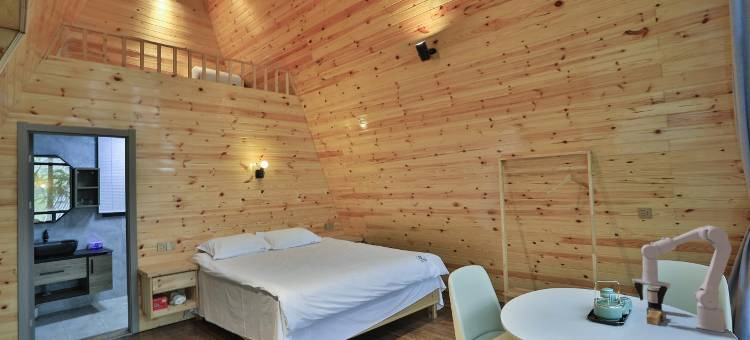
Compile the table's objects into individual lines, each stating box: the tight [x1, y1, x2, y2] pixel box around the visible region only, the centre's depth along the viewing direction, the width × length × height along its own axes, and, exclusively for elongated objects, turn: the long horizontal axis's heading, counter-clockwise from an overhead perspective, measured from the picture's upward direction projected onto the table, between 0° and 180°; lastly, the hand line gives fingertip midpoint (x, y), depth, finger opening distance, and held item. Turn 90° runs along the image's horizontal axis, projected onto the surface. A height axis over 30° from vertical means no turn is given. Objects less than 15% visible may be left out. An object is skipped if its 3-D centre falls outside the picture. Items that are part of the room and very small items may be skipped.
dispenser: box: [646, 307, 667, 323], centre depth 194 cm, size 6×6×5 cm
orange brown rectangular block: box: [646, 310, 662, 327], centre depth 191 cm, size 4×12×4 cm, turn 137°
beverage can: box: [646, 285, 663, 312], centre depth 204 cm, size 6×6×12 cm
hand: (651, 301), depth 189 cm, fingers open, 7 cm apart
